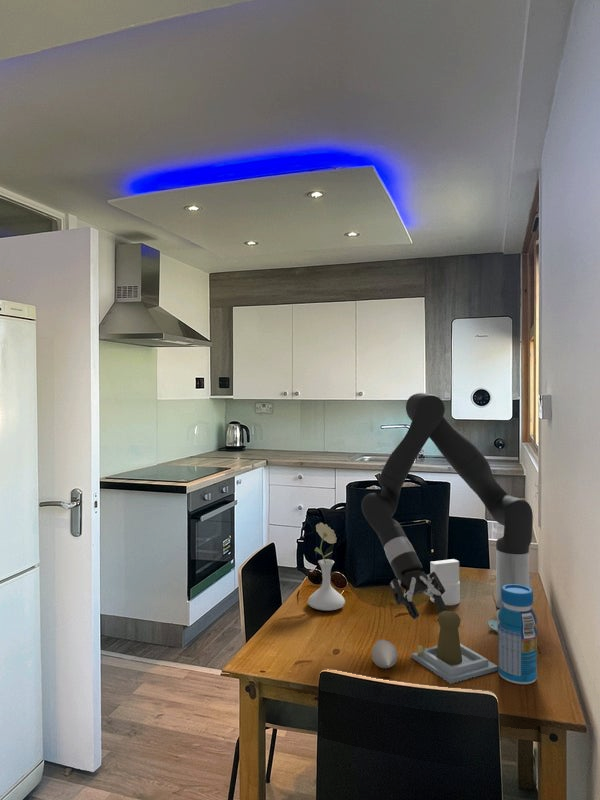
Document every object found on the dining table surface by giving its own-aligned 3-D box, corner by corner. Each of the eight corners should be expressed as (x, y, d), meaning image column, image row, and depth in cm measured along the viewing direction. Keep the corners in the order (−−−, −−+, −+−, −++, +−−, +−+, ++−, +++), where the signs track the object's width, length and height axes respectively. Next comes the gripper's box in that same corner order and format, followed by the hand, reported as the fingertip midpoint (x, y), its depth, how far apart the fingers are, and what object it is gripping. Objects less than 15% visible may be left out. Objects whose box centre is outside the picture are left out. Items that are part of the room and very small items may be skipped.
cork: (463, 666, 130) (463, 618, 130) (436, 663, 131) (436, 616, 131) (461, 654, 136) (461, 609, 135) (435, 651, 137) (435, 607, 137)
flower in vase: (351, 611, 166) (351, 527, 166) (315, 616, 162) (315, 530, 162) (333, 596, 178) (333, 518, 178) (300, 601, 174) (300, 521, 174)
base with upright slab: (449, 593, 180) (449, 556, 180) (465, 603, 172) (465, 564, 172) (424, 596, 178) (424, 559, 178) (440, 606, 169) (440, 567, 169)
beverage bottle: (497, 682, 124) (496, 592, 124) (498, 665, 132) (497, 580, 132) (538, 688, 121) (538, 597, 121) (536, 671, 129) (536, 584, 129)
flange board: (456, 646, 142) (456, 634, 142) (497, 670, 130) (497, 657, 130) (411, 657, 136) (411, 645, 136) (450, 684, 124) (450, 670, 124)
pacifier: (498, 625, 156) (484, 629, 152) (498, 602, 156) (485, 606, 152) (521, 634, 150) (508, 639, 146) (522, 610, 150) (509, 615, 147)
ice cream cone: (386, 686, 122) (380, 665, 137) (408, 668, 123) (399, 649, 138) (368, 663, 123) (364, 644, 138) (390, 645, 124) (383, 628, 138)
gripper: (386, 553, 145) (414, 612, 135) (429, 547, 152) (459, 603, 142) (375, 568, 150) (400, 626, 140) (417, 561, 157) (445, 616, 146)
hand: (430, 614), depth 141 cm, fingers open, 8 cm apart
